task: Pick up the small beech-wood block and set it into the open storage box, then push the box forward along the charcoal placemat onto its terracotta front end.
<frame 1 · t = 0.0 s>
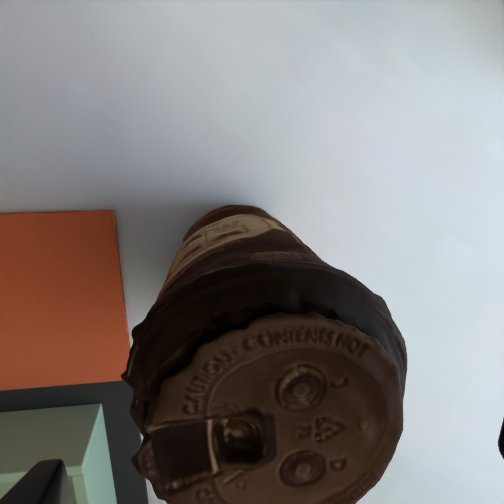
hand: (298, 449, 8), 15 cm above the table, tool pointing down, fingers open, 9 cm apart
coffee cup: (233, 258, 23), on the table
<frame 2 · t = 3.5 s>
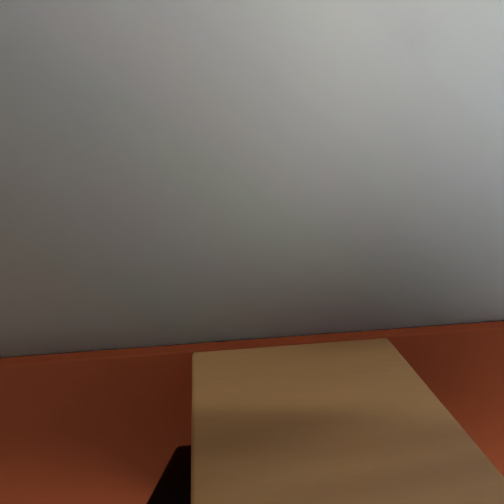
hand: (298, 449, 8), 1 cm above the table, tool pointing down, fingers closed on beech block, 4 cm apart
beech block: (289, 423, 9), resting on placemat, touching gripper
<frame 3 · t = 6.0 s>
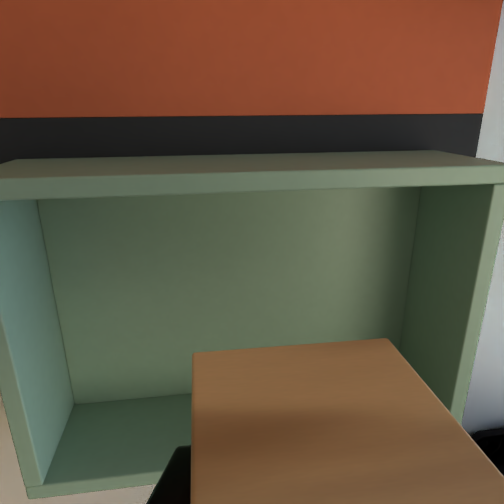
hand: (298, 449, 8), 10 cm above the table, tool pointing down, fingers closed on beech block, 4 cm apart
open storage box: (240, 286, 18), resting on placemat
placemat: (237, 142, 16), on the table
beech block: (289, 424, 9), point 9 cm above the table, touching gripper
when the fingers open (1 cm above the table, at t = 8.6 s): beech block stays where it is, resting on open storage box.
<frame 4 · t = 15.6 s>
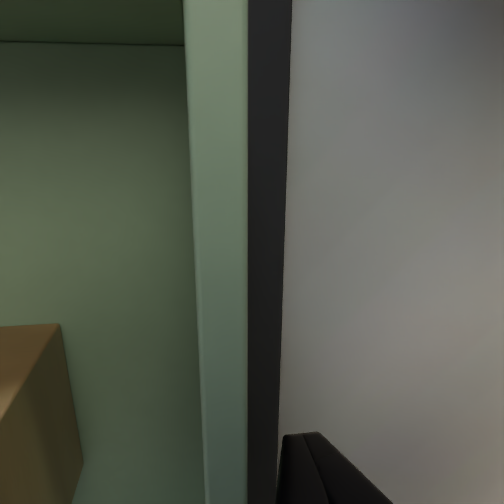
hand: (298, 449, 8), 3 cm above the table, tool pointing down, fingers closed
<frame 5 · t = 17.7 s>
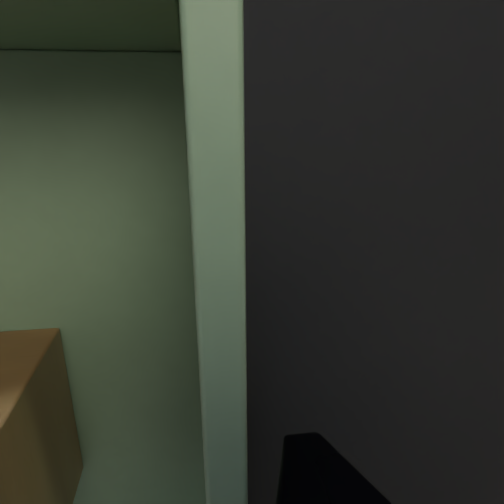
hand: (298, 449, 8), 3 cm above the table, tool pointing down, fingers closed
placemat: (85, 380, 10), on the table
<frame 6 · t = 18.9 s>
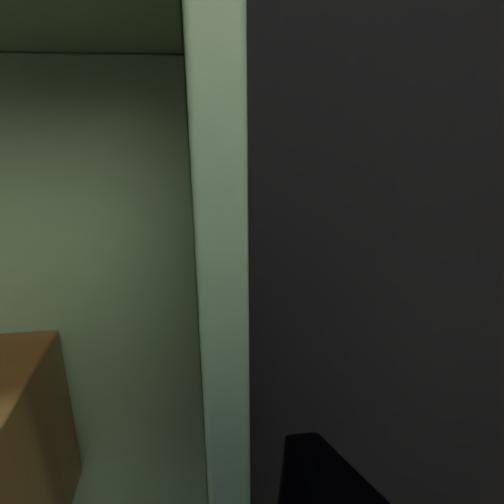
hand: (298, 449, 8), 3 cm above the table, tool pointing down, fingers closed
placemat: (218, 370, 11), on the table
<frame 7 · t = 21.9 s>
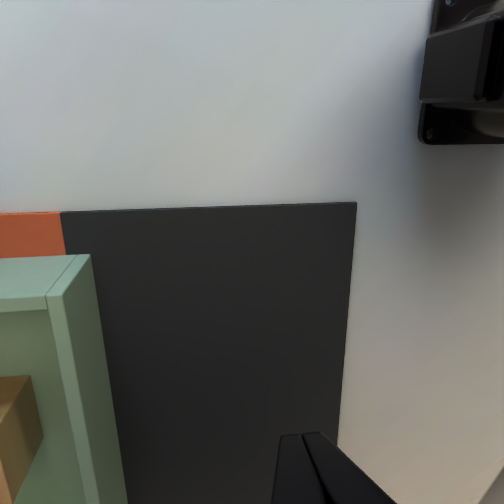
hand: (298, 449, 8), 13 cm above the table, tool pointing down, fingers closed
open storage box: (0, 406, 21), resting on placemat, touching beech block
placemat: (109, 391, 22), on the table
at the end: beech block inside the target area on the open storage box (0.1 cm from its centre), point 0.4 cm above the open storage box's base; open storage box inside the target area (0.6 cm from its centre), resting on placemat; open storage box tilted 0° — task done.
